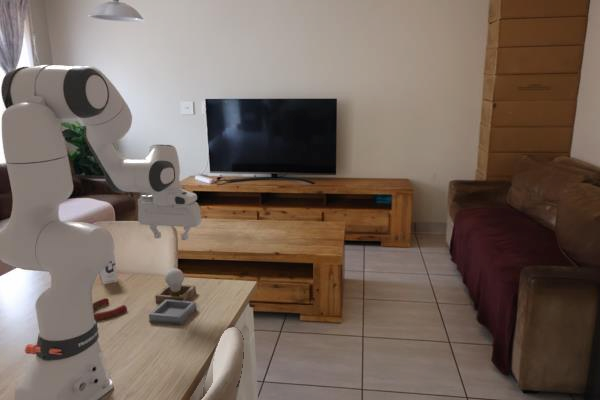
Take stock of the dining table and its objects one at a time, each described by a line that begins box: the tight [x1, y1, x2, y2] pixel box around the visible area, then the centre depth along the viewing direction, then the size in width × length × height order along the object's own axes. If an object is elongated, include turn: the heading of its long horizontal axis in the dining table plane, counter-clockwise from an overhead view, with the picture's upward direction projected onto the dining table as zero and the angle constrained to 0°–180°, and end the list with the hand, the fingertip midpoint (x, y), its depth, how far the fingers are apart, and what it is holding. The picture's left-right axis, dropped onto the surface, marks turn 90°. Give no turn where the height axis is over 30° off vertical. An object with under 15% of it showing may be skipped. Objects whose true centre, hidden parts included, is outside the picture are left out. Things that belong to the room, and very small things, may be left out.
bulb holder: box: [154, 284, 197, 304], centre depth 149 cm, size 9×9×2 cm
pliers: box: [92, 298, 128, 322], centre depth 136 cm, size 12×20×3 cm, turn 146°
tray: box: [148, 299, 197, 326], centre depth 137 cm, size 10×10×2 cm
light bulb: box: [164, 268, 185, 296], centre depth 149 cm, size 6×6×10 cm
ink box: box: [98, 253, 118, 285], centre depth 164 cm, size 8×5×12 cm, turn 32°
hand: (171, 238), depth 145 cm, fingers open, 8 cm apart
